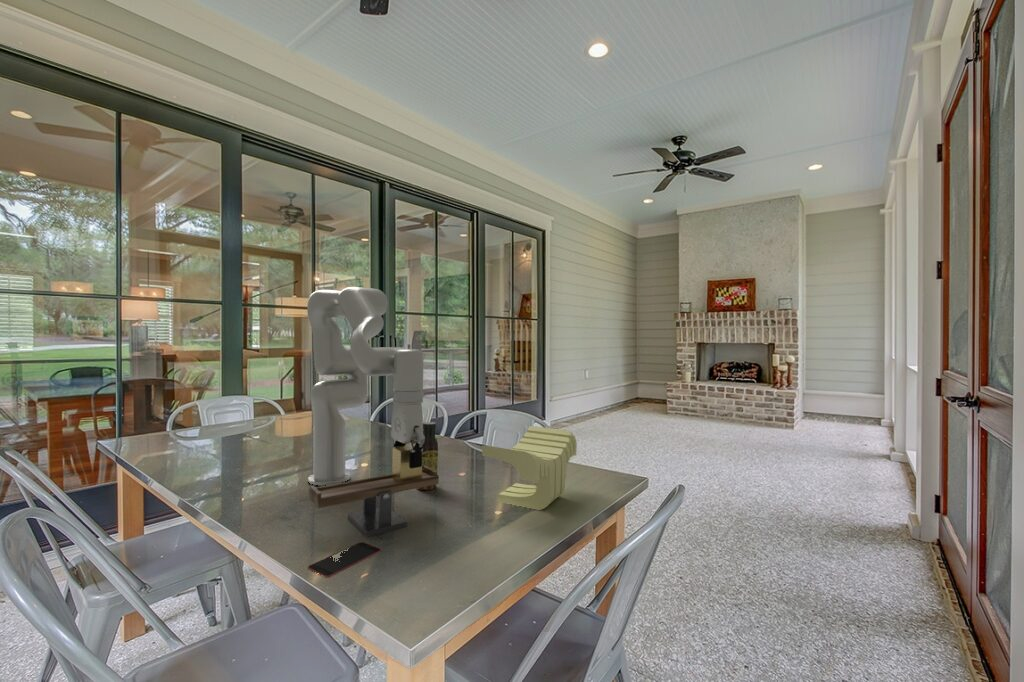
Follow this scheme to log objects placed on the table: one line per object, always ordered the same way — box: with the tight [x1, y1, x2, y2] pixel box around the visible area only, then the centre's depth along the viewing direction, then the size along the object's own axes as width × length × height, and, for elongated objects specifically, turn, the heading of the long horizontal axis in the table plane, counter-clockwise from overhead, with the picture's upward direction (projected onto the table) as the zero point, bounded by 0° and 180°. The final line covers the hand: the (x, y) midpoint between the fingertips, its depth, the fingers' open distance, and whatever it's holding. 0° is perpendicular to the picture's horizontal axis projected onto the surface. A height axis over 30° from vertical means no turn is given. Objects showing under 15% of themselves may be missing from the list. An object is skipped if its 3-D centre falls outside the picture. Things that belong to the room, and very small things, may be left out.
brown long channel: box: [308, 466, 440, 509], centre depth 115 cm, size 8×30×4 cm, turn 127°
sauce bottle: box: [417, 421, 439, 491], centre depth 141 cm, size 6×6×20 cm
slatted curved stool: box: [481, 425, 578, 511], centre depth 132 cm, size 30×16×18 cm, turn 153°
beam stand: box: [347, 490, 408, 538], centre depth 115 cm, size 13×10×9 cm
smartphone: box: [307, 541, 382, 578], centre depth 96 cm, size 7×1×14 cm
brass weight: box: [391, 444, 422, 482], centre depth 120 cm, size 5×6×8 cm
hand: (407, 462), depth 119 cm, fingers open, 9 cm apart
